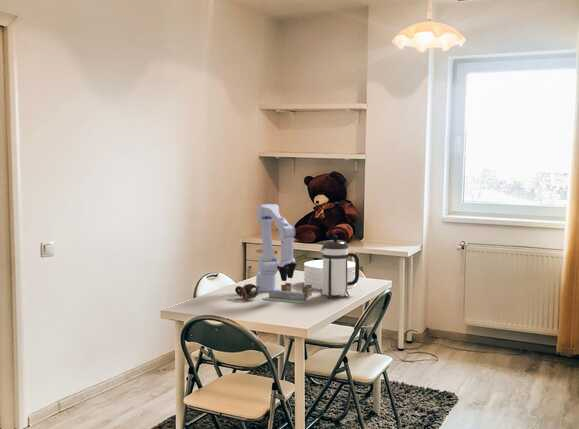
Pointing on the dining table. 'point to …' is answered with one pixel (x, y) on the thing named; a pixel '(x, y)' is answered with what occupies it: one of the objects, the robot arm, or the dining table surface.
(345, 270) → the coffee press
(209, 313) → the dining table surface
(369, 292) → the dining table surface
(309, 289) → the bracket right
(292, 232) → the robot arm
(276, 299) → the mat
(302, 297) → the rail
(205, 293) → the dining table surface
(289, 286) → the bracket left
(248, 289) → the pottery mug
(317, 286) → the plate stack
